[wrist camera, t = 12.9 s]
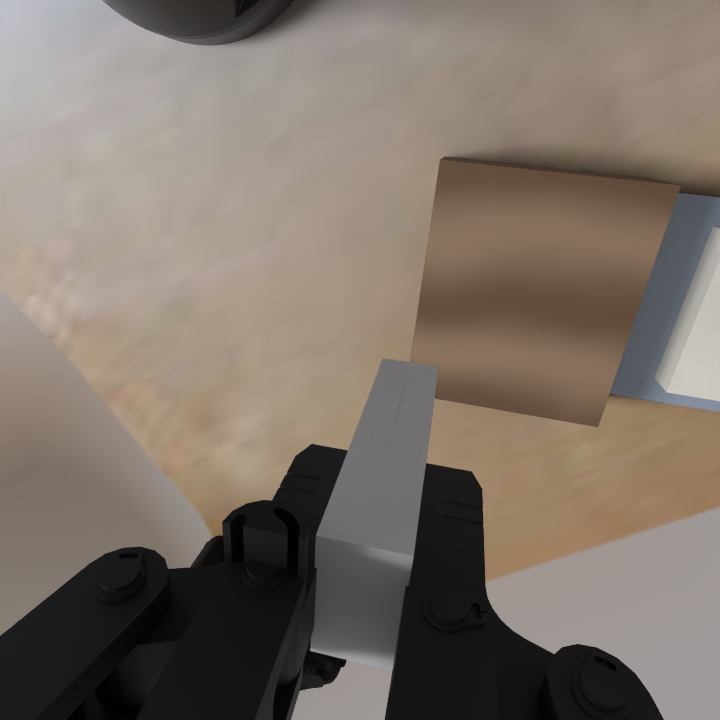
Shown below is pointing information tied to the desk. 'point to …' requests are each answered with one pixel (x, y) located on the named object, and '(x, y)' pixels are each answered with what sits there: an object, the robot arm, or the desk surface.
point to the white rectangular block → (697, 333)
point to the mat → (667, 302)
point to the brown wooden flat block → (535, 284)
